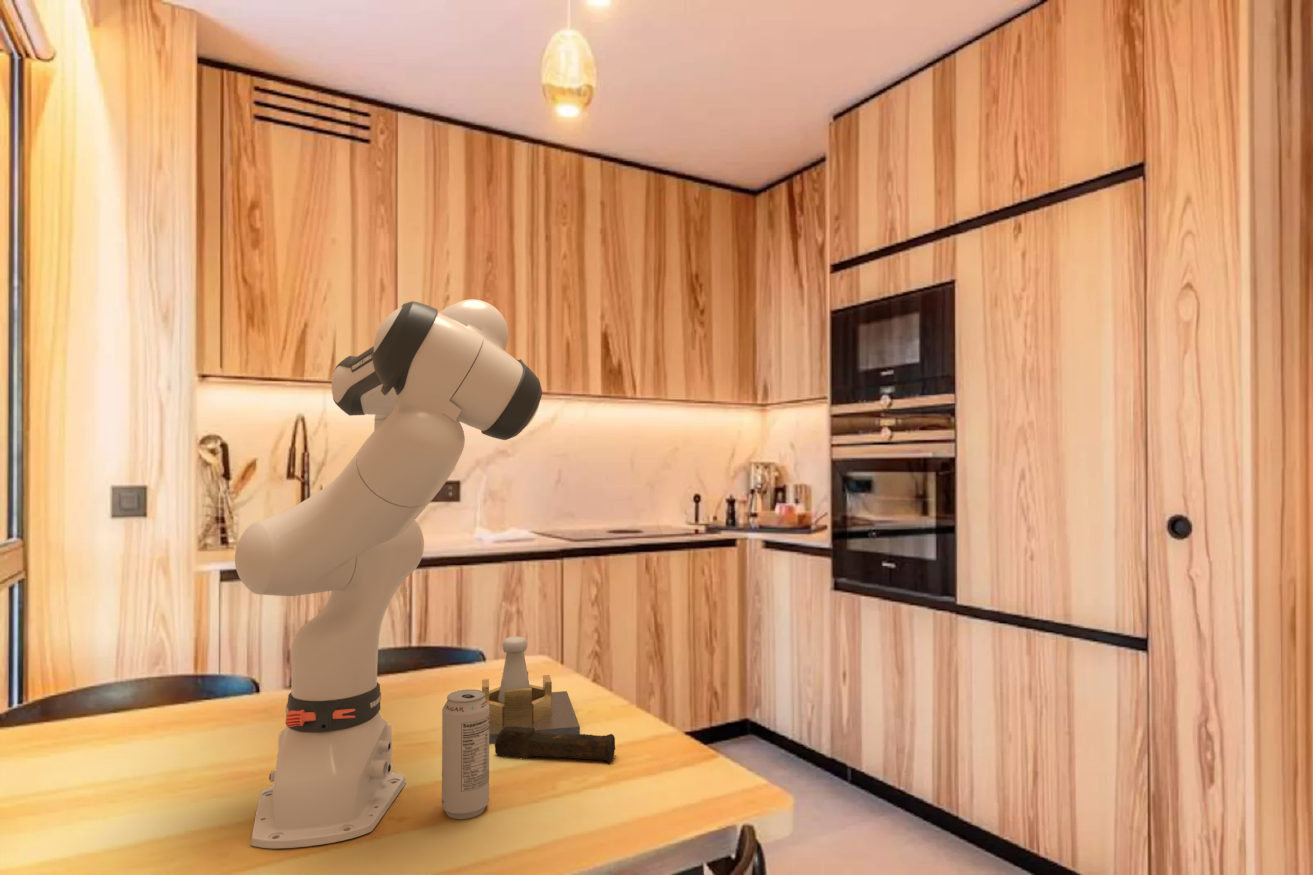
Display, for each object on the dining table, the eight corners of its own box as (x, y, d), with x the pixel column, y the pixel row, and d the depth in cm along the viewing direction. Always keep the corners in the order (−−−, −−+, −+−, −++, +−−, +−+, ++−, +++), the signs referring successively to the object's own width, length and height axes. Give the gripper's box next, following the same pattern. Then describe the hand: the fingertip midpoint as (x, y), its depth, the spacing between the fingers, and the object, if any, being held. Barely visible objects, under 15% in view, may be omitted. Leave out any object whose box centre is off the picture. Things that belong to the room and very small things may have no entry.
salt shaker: (491, 712, 131) (491, 638, 131) (514, 704, 136) (515, 632, 136) (514, 719, 127) (514, 643, 128) (537, 710, 132) (537, 636, 133)
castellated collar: (579, 735, 124) (579, 693, 124) (456, 746, 119) (456, 702, 119) (566, 698, 143) (566, 662, 143) (460, 707, 138) (460, 669, 139)
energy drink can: (470, 795, 101) (470, 685, 102) (498, 808, 98) (498, 693, 98) (432, 811, 97) (433, 696, 97) (460, 825, 93) (460, 705, 93)
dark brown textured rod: (617, 756, 115) (617, 726, 116) (611, 766, 111) (611, 735, 112) (502, 750, 118) (502, 720, 119) (492, 759, 115) (492, 729, 115)
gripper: (412, 433, 128) (411, 514, 127) (421, 438, 147) (421, 507, 147) (373, 433, 126) (373, 514, 126) (388, 438, 146) (388, 508, 145)
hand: (399, 510), depth 136 cm, fingers open, 8 cm apart
